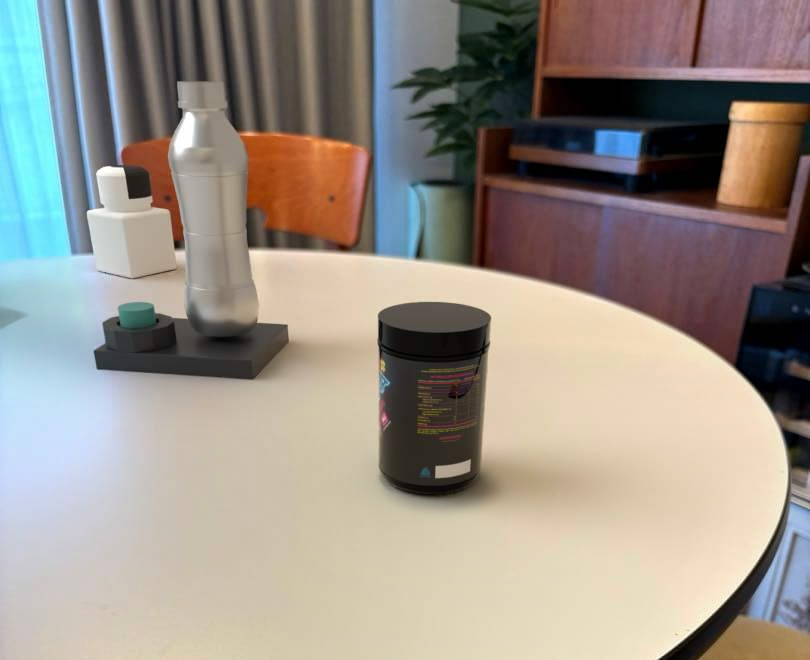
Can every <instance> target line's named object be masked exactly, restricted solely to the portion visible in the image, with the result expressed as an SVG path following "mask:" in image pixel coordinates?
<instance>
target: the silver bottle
mask: <svg viewBox="0 0 810 660" xmlns="http://www.w3.org/2000/svg"><path fill="white" fill-rule="evenodd" d="M176 83H177V86H176V87H177V95H178V100H177V105H178V106H177V108H179V109H182V118H181V119H180V122H179V123H178V125H177V127H176V128H175V130H174V132H173V134H172V137H171V140H170V142H169V145H168V153H167V160H168V165H169V169H170V170H171V172H170V174H171V179H172V181H173V182H172V183H173V186H174V191H175V195H176V199H177V203H178V207H179V213H180V214H179V215H180V221H181V225H182V227H183V229H182V233H183V240H184V254H185V255H184V258H185V259H184V260H185V262H184V263H185V264H184V265H185V279H186V281H185V283H184V292H183V293H184V294H183V295H184V297H183V299H184V301H183V302H184V304H183V307H184V311H185V315H186V317H187V318H186V319H188V322H189V324H190V325H191V326H192V328H193V329H194V330H195V331H196V332H197V333H199V334H202V335H206V336H215V337H228V336H237V335H242V334H245V333H248V332H250V331H252V330H253V328H254V327H255V325H256V323H258V322H259V321H258V320H259V309H260V301H259V297H258V292H257V287H256V283H255V280H254V279H253V271H252V264H251V258H250V252H249V251H250V250H249V244H248V230H247V195H248V194H247V193H248V177H249V172H248V169H249V154H248V151H247V148H246V146H245V143H244V141H243V140H242V138H241V136H240V135H239V133H238V132H237V130H236V129H235V127H234V126H233V125H232V124H231V123H230V121H229V120H228V118H227V117H226V112H225V109H228V108H229V107H228V101H227V100H226V99H227V98H226V88H225V83H224V81H211V80H210V81H207V80H204V81H202V80H199V81H198V80H192V81H191V80H189V81H188V80H184V81H183V80H181V81H177V82H176Z"/></svg>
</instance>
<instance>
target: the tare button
mask: <svg viewBox="0 0 810 660" xmlns="http://www.w3.org/2000/svg"><path fill="white" fill-rule="evenodd" d="M117 312H118V316H119V319H120V325H121V327H128V328H140V327H148V326H152V325H156V324H157V323H156V316H155V313H156V309H155V305H154V303H151V302H146V301H132V302H126V303H122V304H120V305H119V306H118V307H117Z"/></svg>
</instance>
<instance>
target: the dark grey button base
mask: <svg viewBox="0 0 810 660" xmlns="http://www.w3.org/2000/svg"><path fill="white" fill-rule="evenodd" d="M155 316H156V323H157V324H156V325H152V326H148V327H140V328H128V327H121V325H120V319H119V315H116V316H112V317H109V318H108V319H106V320H104V321H102V323H101V324H102V325H101V326H102V330H103V337H104V343H102V345H100V346H98V347H97V348H95V349H94V350H93V356H94V357H93V358H94V362H95V368H96V370H101V371H118V372H130V373H131V372H133V373H146V374H147V373H148V374H163V375H177V376H190V377H191V376H192V377H205V378H206V377H207V378H219V379H220V378H221V379H235V380H236V379H237V380H251V381H252V380H254V379H255V378H256V377H257V376H258V375H259V374H260V373H261V371H263V370H264V368H266V367H267V366H268V364H269V363H271V362H272V360H274V358H275V357H276V356H277V355H278V354H279V353H280V352H281V351H282V350H283V348H285V346H286V345H287V344H288V343H289V342H290V339H289V324H286V323H269V322H257V323H256V325H255V327H254V328H253V330H252V331H250V332H248V333H245V334H242V335H237V336H228V337H215V336H206V335H202V334H199V333H197V332H196V331H195V330H194V329H193V328H192V326H191V325H190V324H189V322H188V318H182V317H172V316H170V315H167V314H164V313H159V312H155Z"/></svg>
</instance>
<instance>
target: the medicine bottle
mask: <svg viewBox="0 0 810 660" xmlns="http://www.w3.org/2000/svg"><path fill="white" fill-rule="evenodd" d="M95 175H96V176H95V177H96V182H97V183H96V184H97V188H98V195H99V200H100V204H101V205H103V207H100V208H94V209H89V210H87V212H86V218H87V223H88V224H87V225H88V230H89V235H90V240H91V248H92V253H93V257H94V264H95V265H94V266H95V269H96V271H98V272H102V273H105V272H106V274H110V275H113V276H114V275H115V276H118V275H119V276H120V277H122V278H128V279H137V278H138V279H139V278H141V277H147V276H150V275H155V274H160V273H164V272H169V271H173V270H174V271H175V270H176V269H177V259H176V250H175V242H174V235H173V234H174V233H173V228H172V227H173V225H172V217H171V212H170V210H169V209H167V208H162V207H161V208H160V207H155V206H151V204H152V203H153V202H154V200H153V193H152V192H153V191H152V186H151V178H150V177H151V176H150V172H149V171H148V170H147V169H146V168H144V167H142V166H140V165H130V164H118V165H117V164H116V165H107V166H103V167H101V168H100V169H98V170H97V171H96V173H95ZM119 276H118V277H119Z"/></svg>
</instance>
